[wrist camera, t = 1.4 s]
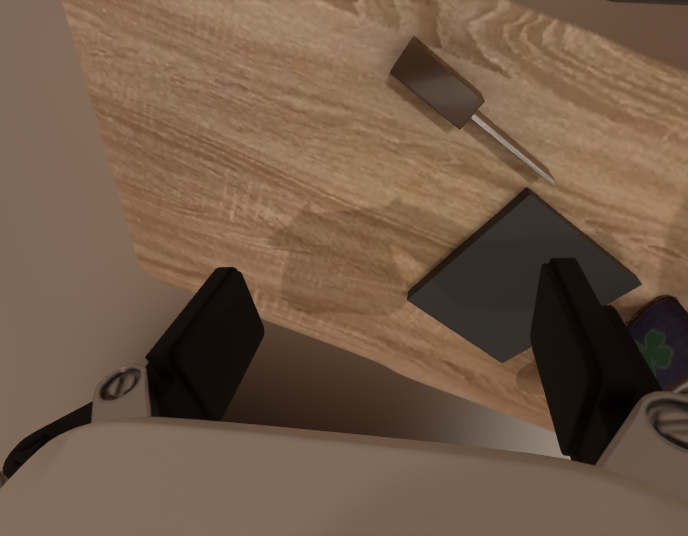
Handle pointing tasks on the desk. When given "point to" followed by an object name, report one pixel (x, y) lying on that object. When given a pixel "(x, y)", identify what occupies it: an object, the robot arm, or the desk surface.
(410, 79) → the knife
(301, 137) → the desk surface
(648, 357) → the flask
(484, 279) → the board
